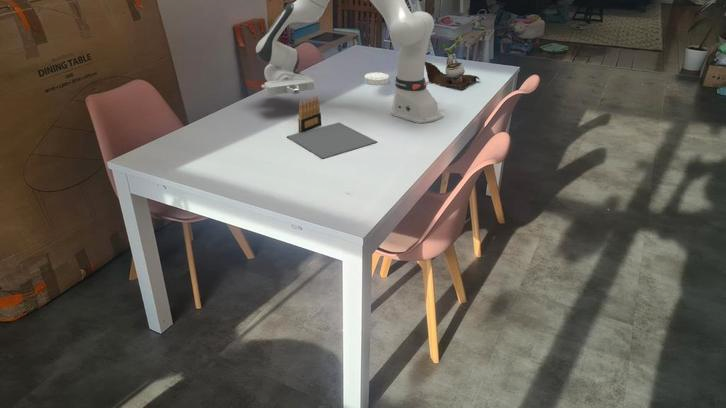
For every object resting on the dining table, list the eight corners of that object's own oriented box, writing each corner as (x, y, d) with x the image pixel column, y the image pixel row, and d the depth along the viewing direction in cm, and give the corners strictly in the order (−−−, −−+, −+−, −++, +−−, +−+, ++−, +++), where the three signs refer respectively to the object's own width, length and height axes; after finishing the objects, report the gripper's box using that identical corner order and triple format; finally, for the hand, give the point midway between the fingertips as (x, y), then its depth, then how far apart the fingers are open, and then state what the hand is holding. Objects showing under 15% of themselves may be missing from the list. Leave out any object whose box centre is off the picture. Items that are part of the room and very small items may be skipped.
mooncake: (387, 78, 263) (388, 71, 261) (389, 85, 253) (389, 78, 251) (364, 78, 263) (364, 71, 261) (364, 85, 252) (364, 78, 251)
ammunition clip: (301, 132, 200) (300, 102, 194) (298, 131, 201) (296, 101, 195) (321, 125, 207) (320, 95, 201) (318, 123, 208) (317, 94, 202)
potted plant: (464, 96, 247) (452, 44, 235) (429, 98, 259) (417, 49, 247) (481, 79, 259) (471, 29, 247) (448, 81, 271) (437, 34, 259)
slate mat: (377, 142, 193) (377, 141, 192) (322, 159, 180) (322, 158, 180) (339, 123, 209) (339, 122, 209) (286, 137, 196) (286, 136, 196)
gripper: (259, 77, 213) (270, 87, 203) (306, 71, 222) (319, 81, 211) (260, 92, 216) (271, 103, 206) (306, 86, 225) (319, 96, 214)
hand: (296, 91), depth 209 cm, fingers closed
